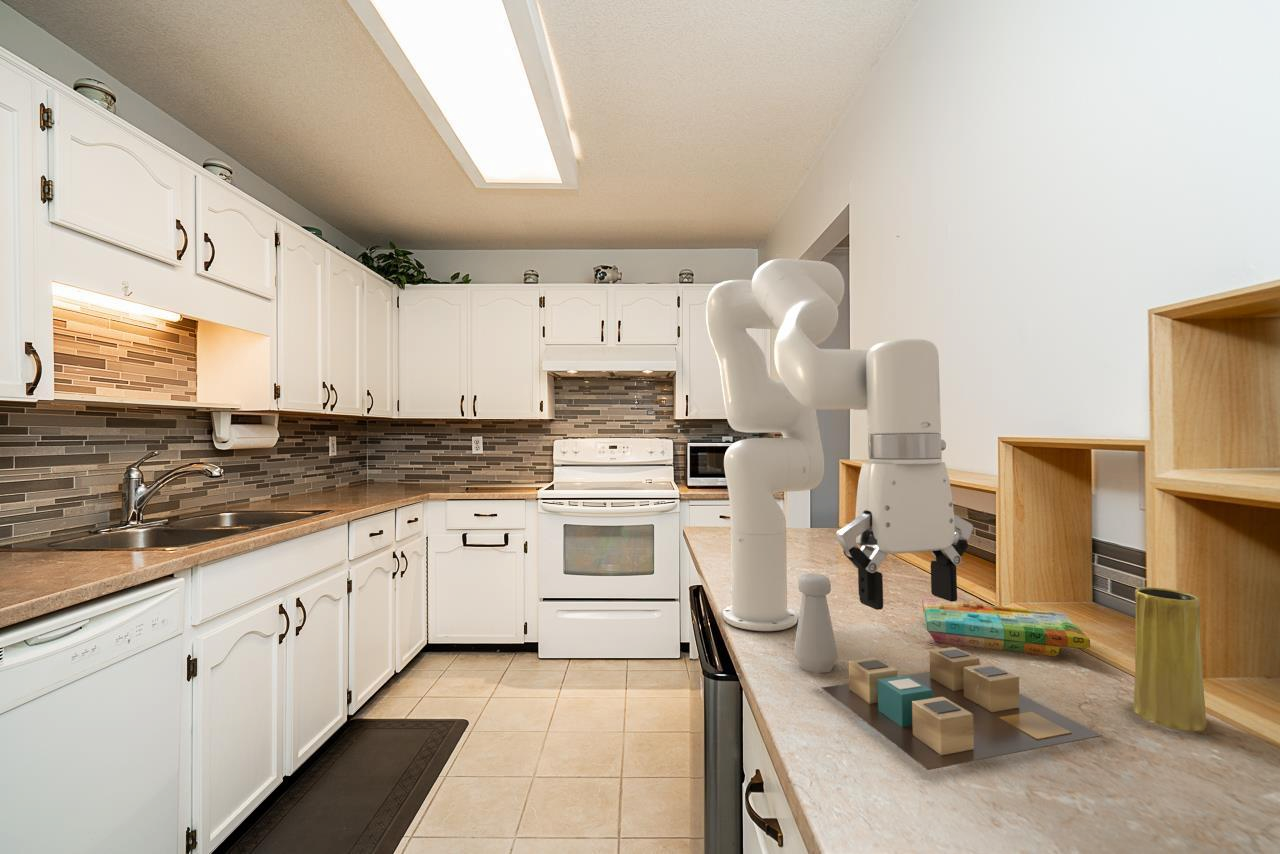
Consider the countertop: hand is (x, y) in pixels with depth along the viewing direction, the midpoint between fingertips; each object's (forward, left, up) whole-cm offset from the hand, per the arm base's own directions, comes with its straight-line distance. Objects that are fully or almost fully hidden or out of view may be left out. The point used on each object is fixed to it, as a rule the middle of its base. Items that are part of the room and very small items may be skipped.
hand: (908, 602), depth 64 cm
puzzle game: (-16, +30, -14) cm, 37 cm away
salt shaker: (-15, -2, -14) cm, 21 cm away
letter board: (0, +6, -14) cm, 15 cm away
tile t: (0, +12, -13) cm, 17 cm away
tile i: (-6, +12, -13) cm, 18 cm away
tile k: (+5, 0, -13) cm, 14 cm away
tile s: (0, 0, -13) cm, 13 cm away
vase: (+8, +28, -14) cm, 32 cm away
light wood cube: (-6, 0, -13) cm, 14 cm away
